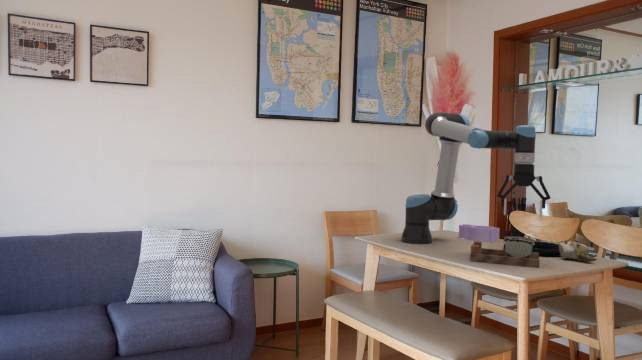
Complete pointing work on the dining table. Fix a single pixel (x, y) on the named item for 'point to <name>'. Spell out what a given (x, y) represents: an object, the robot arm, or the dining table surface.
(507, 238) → the food container
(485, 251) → the brown wooden tray
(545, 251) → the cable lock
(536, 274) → the dining table surface
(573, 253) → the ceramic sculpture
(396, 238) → the dining table surface
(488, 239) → the purple block
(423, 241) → the robot arm
